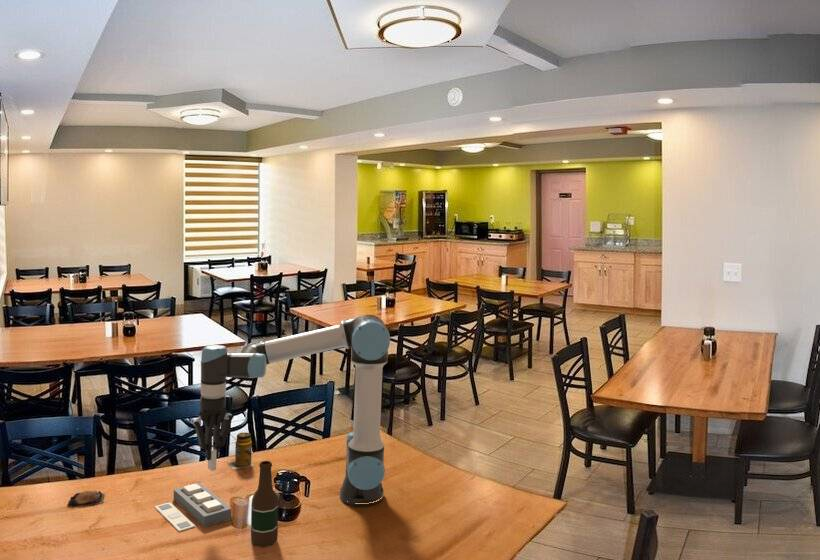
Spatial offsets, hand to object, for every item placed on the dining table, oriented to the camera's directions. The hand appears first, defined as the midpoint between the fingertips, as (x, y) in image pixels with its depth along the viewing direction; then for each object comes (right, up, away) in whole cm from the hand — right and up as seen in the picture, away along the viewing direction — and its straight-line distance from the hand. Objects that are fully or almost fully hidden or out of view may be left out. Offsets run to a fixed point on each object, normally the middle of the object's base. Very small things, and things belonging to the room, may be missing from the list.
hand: (212, 468), depth 196 cm
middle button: (-5, -13, +7) cm, 16 cm away
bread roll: (-44, -14, +10) cm, 48 cm away
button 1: (-10, -12, +12) cm, 20 cm away
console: (-6, -15, +7) cm, 18 cm away
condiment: (-3, -12, +44) cm, 46 cm away
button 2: (0, -14, +1) cm, 14 cm away
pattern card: (-12, -16, +1) cm, 20 cm away
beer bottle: (+19, -18, -11) cm, 28 cm away
